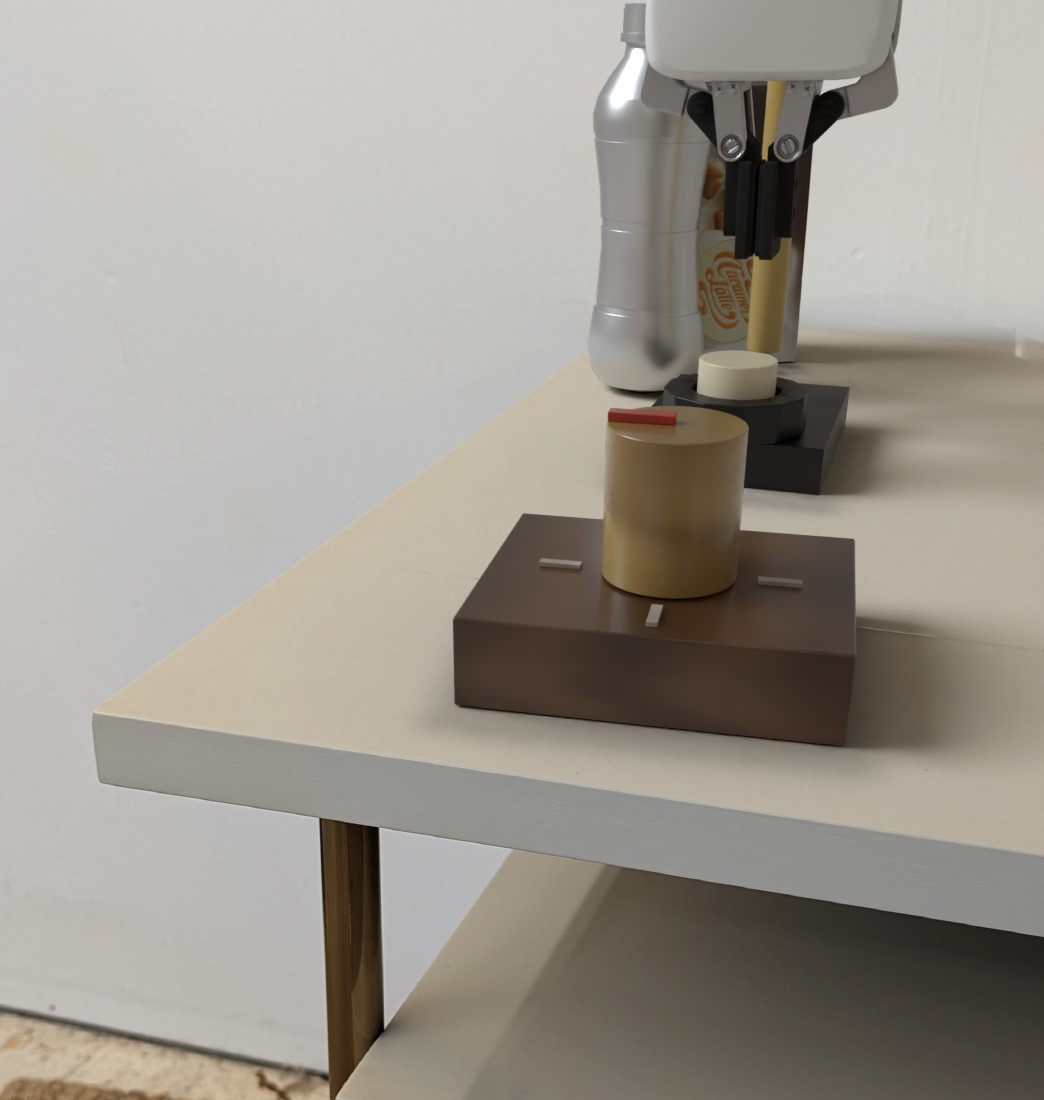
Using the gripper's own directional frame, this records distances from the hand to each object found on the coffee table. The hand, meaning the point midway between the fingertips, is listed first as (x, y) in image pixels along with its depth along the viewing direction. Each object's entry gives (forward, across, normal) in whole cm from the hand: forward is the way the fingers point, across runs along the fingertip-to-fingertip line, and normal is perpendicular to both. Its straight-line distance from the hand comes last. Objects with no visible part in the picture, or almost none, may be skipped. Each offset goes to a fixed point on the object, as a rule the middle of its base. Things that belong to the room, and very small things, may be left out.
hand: (757, 254), depth 59 cm
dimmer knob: (+7, -1, +22) cm, 23 cm away
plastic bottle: (+10, +8, -14) cm, 19 cm away
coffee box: (+10, +6, -24) cm, 27 cm away
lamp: (+6, +1, -9) cm, 11 cm away
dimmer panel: (+10, -1, +22) cm, 24 cm away
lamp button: (+6, +1, 0) cm, 6 cm away
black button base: (+10, +1, -3) cm, 11 cm away
